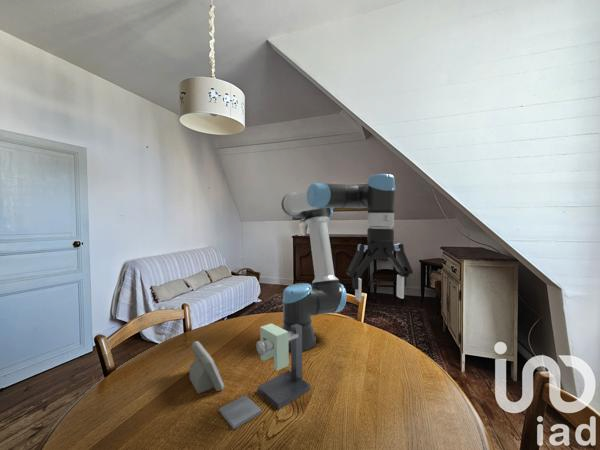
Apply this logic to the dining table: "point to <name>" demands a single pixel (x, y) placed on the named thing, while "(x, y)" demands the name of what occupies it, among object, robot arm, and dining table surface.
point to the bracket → (276, 345)
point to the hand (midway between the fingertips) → (379, 298)
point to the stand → (287, 383)
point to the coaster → (239, 411)
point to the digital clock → (204, 370)
